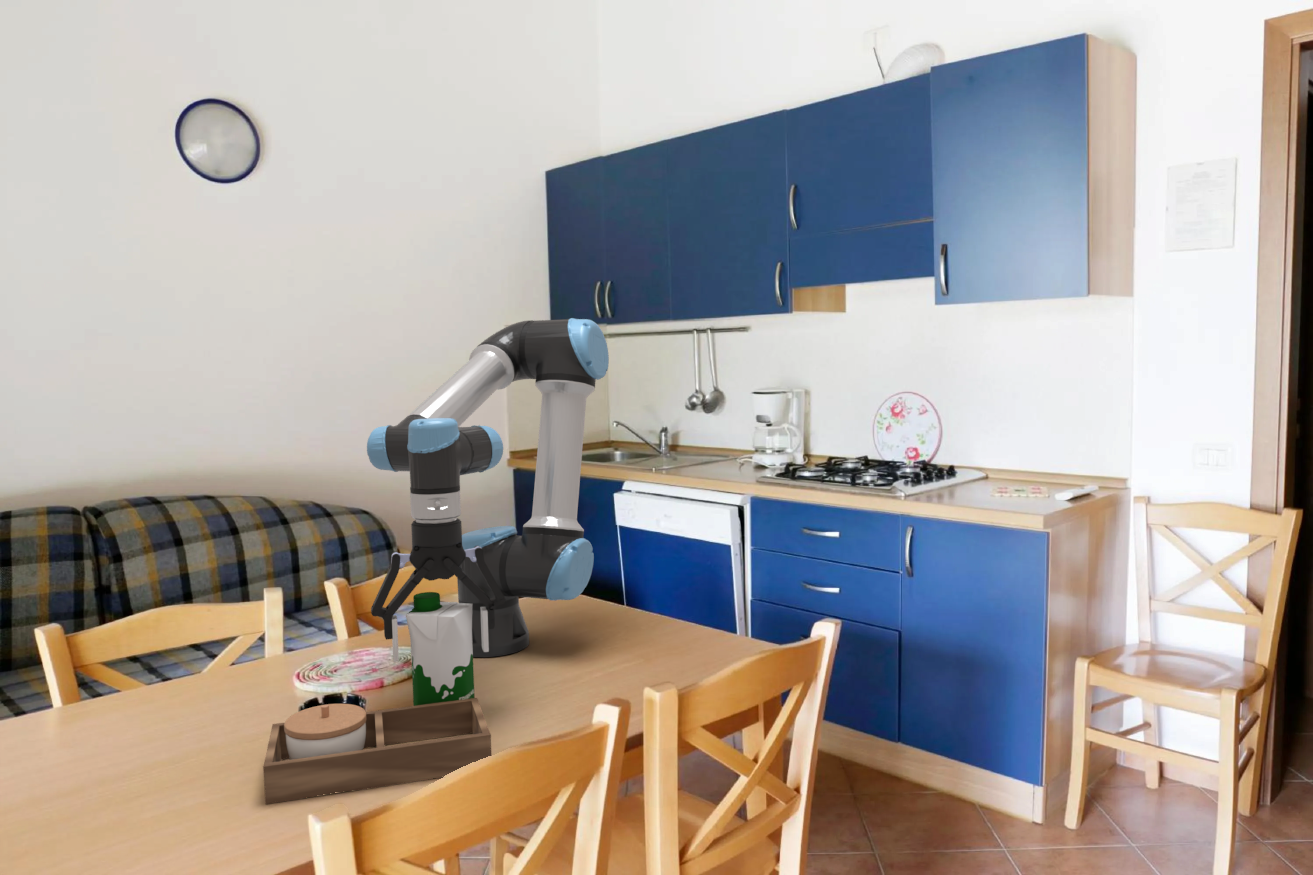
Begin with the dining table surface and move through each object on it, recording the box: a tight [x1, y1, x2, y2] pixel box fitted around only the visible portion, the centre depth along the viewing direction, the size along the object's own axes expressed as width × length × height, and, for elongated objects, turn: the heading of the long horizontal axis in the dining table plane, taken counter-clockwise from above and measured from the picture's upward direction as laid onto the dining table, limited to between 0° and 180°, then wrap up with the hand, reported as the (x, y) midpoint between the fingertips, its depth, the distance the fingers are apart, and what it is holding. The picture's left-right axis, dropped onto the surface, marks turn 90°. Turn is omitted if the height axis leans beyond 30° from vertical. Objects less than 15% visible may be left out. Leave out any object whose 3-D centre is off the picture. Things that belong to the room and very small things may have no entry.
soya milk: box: [405, 591, 475, 706], centre depth 149 cm, size 9×9×20 cm
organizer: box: [262, 697, 492, 805], centre depth 134 cm, size 15×29×5 cm, turn 108°
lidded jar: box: [283, 703, 367, 760], centre depth 132 cm, size 11×11×9 cm
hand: (441, 654), depth 148 cm, fingers open, 13 cm apart
